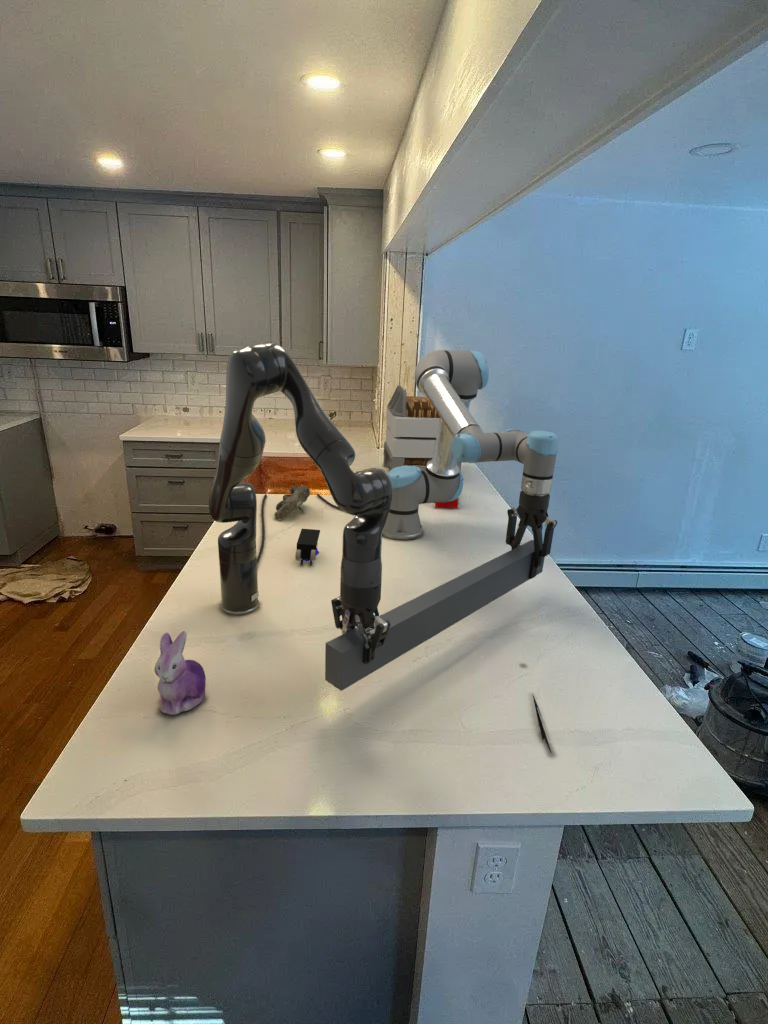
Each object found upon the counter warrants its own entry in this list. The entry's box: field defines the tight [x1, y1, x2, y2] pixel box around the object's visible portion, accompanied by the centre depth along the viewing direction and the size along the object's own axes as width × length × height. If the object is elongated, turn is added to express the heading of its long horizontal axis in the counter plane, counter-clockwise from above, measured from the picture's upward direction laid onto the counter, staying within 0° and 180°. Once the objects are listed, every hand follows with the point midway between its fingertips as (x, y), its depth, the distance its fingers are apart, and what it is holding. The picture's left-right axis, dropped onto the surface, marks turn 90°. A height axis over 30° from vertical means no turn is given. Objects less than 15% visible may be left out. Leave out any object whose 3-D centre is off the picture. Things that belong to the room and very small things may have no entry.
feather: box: [522, 663, 555, 753], centre depth 115 cm, size 2×28×2 cm
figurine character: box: [295, 528, 321, 566], centre depth 176 cm, size 7×8×15 cm
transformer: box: [383, 384, 462, 473], centre depth 268 cm, size 34×33×41 cm
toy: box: [434, 496, 460, 509], centre depth 239 cm, size 12×13×30 cm
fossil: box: [273, 484, 311, 521], centre depth 215 cm, size 22×10×15 cm
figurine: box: [153, 630, 207, 716], centre depth 109 cm, size 9×10×15 cm
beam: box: [324, 539, 546, 692], centre depth 131 cm, size 75×5×8 cm, turn 137°
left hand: (358, 655), depth 109 cm, fingers closed on beam, 4 cm apart
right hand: (523, 573), depth 153 cm, fingers closed on beam, 5 cm apart
